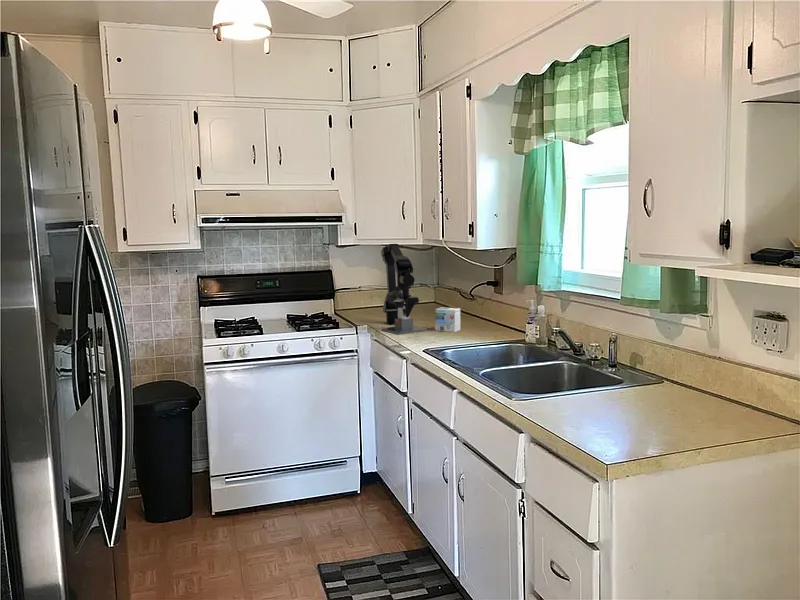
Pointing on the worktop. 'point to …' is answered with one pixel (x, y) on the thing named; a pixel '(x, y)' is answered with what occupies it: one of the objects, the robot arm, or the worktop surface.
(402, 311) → the column
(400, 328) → the stand
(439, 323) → the light bulb box
